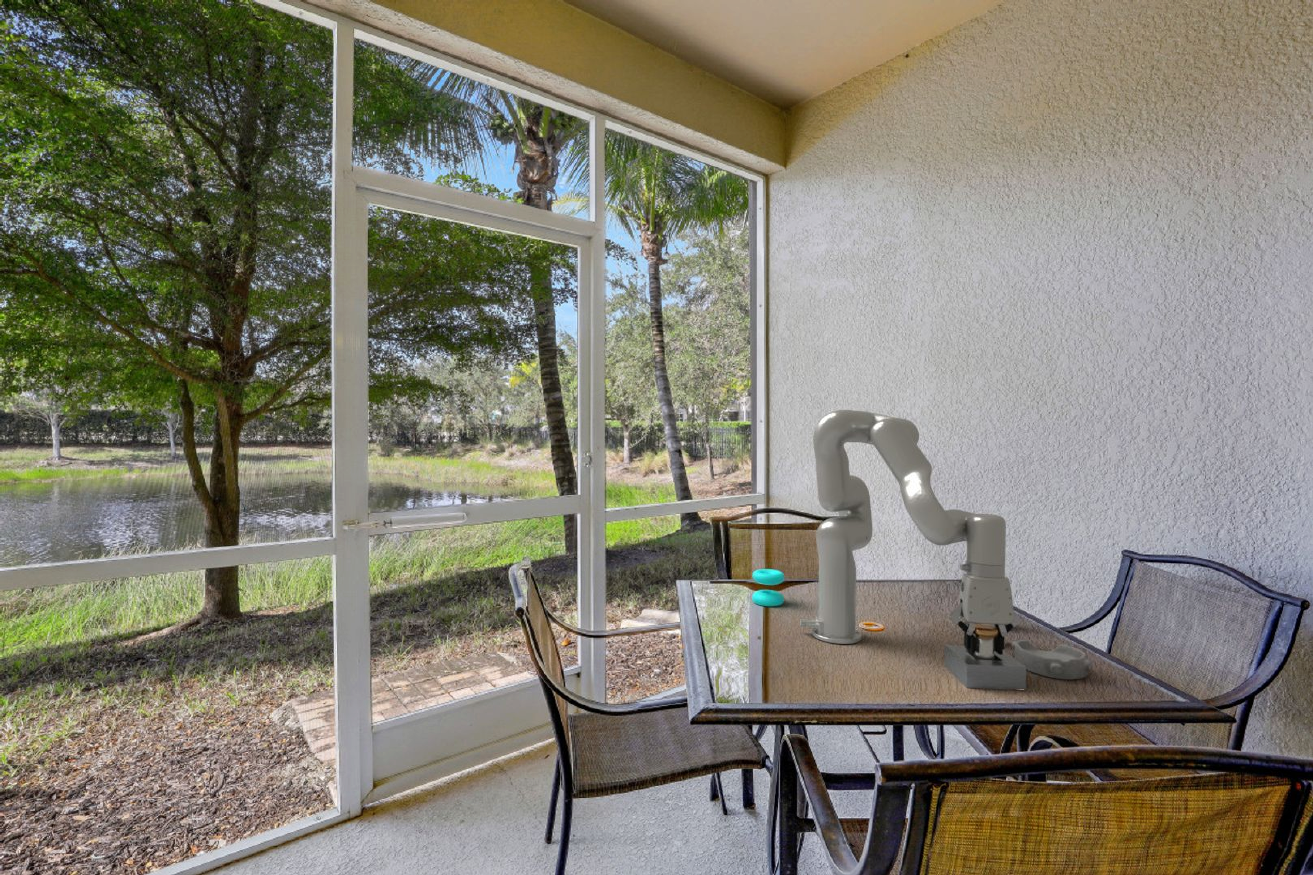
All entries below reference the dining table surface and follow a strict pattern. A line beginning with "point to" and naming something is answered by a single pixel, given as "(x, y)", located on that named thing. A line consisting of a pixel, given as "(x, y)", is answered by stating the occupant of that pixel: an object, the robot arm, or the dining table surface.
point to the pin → (984, 641)
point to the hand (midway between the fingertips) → (983, 651)
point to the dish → (1052, 660)
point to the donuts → (768, 595)
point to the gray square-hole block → (985, 669)
